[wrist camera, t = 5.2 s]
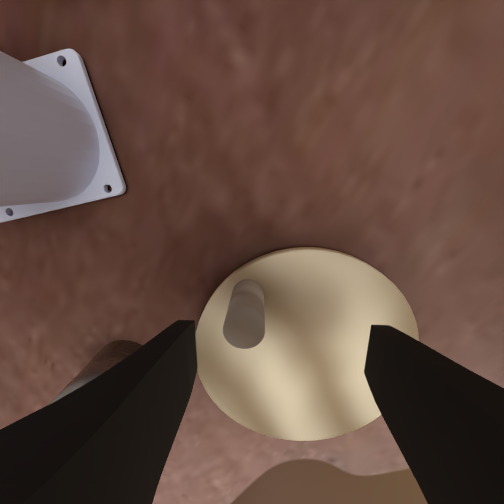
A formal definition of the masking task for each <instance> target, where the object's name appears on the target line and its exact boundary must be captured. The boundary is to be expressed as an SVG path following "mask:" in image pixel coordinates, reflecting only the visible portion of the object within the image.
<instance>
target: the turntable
mask: <svg viewBox="0 0 504 504" xmlns="http://www.w3.org/2000/svg"><path fill="white" fill-rule="evenodd" d="M371 325H390V326H392V327H394V328H396V329H398V330H400V331H402V332H403V333H405V334H407V335H409V336H411V337H412V338H414V339H416V340H418V341H419V337H418V329H417V324H416V320H415V317H414V315H413V312H412V310H411V307H410V306H409V304H408V302H407V300H406V299H405V297H404V295H403V294H402V293H401V292H400V291H399V289H398V288H397V287H396V286H395V285H394V284H393V283H392V282H391V281H390V280H389V279H388V278H386V277H385V276H384V275H383V274H382V273H380V272H379V271H378V270H376V269H375V268H373V267H372V266H370V265H369V264H367V263H366V262H364V261H362V260H360V259H358V258H356V257H354V256H352V255H349V254H346V253H343V252H339V251H336V250H331V249H325V248H317V247H298V248H288V249H283V250H278V251H274V252H271V253H268V254H265V255H262V256H259V257H257V258H255V259H253V260H251V261H249V262H247V263H246V264H244V265H243V266H241V267H239V268H238V269H236V270H235V271H234V272H233V273H231V274H230V275H229V276H228V277H227V278H226V279H225V280H224V281H223V282H222V283H221V284H220V285H219V286H218V288H217V289H216V290H215V291H214V293H213V294H212V296H211V297H210V299H209V301H208V302H207V305H206V307H205V309H204V311H203V313H202V316H201V318H200V320H199V323H198V327H197V330H196V335H195V337H196V351H197V366H198V368H197V371H198V374H199V377H200V380H201V382H202V384H203V386H204V388H205V390H206V392H207V393H208V394H209V396H210V397H211V399H212V400H213V401H214V402H215V404H216V405H217V406H218V407H219V408H220V409H221V410H222V411H223V412H224V413H226V414H227V415H228V416H229V417H230V418H232V419H233V420H235V421H236V422H238V423H239V424H241V425H243V426H245V427H247V428H249V429H251V430H253V431H255V432H258V433H261V434H263V435H267V436H271V437H274V438H280V439H286V440H297V441H308V440H320V439H327V438H332V437H336V436H340V435H343V434H346V433H349V432H352V431H354V430H356V429H358V428H361V427H363V426H365V425H366V424H368V423H370V422H371V421H373V420H375V419H376V418H377V417H379V416H380V415H381V412H380V410H379V409H378V407H377V405H376V403H375V400H374V398H373V395H372V393H371V390H370V388H369V385H368V382H367V380H366V377H365V374H364V368H365V361H366V355H367V349H368V342H369V336H370V329H371Z"/></svg>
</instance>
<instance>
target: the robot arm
mask: <svg viewBox="0 0 504 504" xmlns="http://www.w3.org/2000/svg"><path fill="white" fill-rule="evenodd" d="M65 59H66V65H65V66H64V67H63V60H65ZM108 185H110V186H111V187H112V191H111V192H109V191H108ZM125 191H126V185H125V182H124V179H123V176H122V173H121V170H120V167H119V164H118V161H117V159H116V156H115V153H114V150H113V147H112V144H111V141H110V138H109V135H108V132H107V129H106V126H105V123H104V121H103V118H102V115H101V112H100V109H99V106H98V103H97V100H96V97H95V94H94V91H93V88H92V86H91V83H90V80H89V77H88V74H87V71H86V68H85V65H84V62H83V59H82V57H81V56H80V55H79V54H78V53H77V52H76V51H74V50H73V49H70V48H69V49H64V50H60V51H57V52H54V53H50V54H47V55H44V56H40V57H37V58H34V59H31V60H27V61H24V62H21V61H19V60H17V59H15V58H13V57H11V56H9V55H7V54H5V53H3V52H1V51H0V223H1V222H7V221H11V220H15V219H20V218H24V217H28V216H32V215H37V214H41V213H45V212H49V211H54V210H58V209H62V208H67V207H71V206H75V205H79V204H84V203H88V202H92V201H96V200H101V199H105V198H109V197H113V196H118V195H122V194H124V192H125ZM11 210H12V211H13V213H12V211H11ZM197 368H198V366H197V351H196V337H195V322H194V321H189V320H178V321H176V322H175V323H173V324H172V325H170V326H169V327H168V328H166V329H165V330H163V331H162V332H161V333H159V334H158V335H157V336H155V337H154V338H153V339H151V340H150V341H149V342H147V343H146V344H145V345H143V346H142V347H141V348H139V349H138V350H136V351H135V352H134V353H132V354H131V355H129V356H128V357H126V358H125V359H123V360H122V361H120V362H119V363H117V364H116V365H114V366H113V367H111V368H110V369H108V370H107V371H105V372H104V373H103V374H101V375H99V376H98V377H96V378H95V379H93V380H91V381H90V382H88V383H86V384H85V385H83V386H81V387H80V388H78V389H76V390H74V391H73V392H71V393H69V394H67V395H66V396H64V397H62V398H60V399H59V400H57V401H55V402H53V403H51V404H50V405H48V406H46V407H44V408H42V409H40V410H38V411H36V412H34V413H32V414H30V415H28V416H26V417H24V418H22V419H20V420H18V421H16V422H14V423H12V424H10V425H8V426H7V427H5V428H3V429H1V430H0V504H152V502H153V499H154V496H155V492H156V489H157V486H158V483H159V480H160V477H161V474H162V471H163V468H164V466H165V463H166V460H167V458H168V455H169V452H170V450H171V447H172V444H173V442H174V439H175V436H176V434H177V431H178V428H179V426H180V423H181V420H182V418H183V415H184V412H185V410H186V407H187V404H188V401H189V399H190V396H191V392H192V388H193V384H194V380H195V376H196V372H197ZM364 374H365V377H366V380H367V382H368V385H369V388H370V390H371V393H372V395H373V398H374V400H375V403H376V405H377V407H378V409H379V410H380V412H381V414H382V416H383V418H384V420H385V422H386V424H387V426H388V428H389V430H390V431H391V433H392V435H393V437H394V439H395V441H396V443H397V445H398V447H399V448H400V450H401V452H402V454H403V456H404V458H405V460H406V462H407V463H408V465H409V467H410V469H411V471H412V473H413V475H414V477H415V478H416V480H417V482H418V484H419V486H420V488H421V490H422V492H423V494H424V496H425V499H426V501H427V503H428V504H504V388H502V387H500V386H498V385H496V384H494V383H492V382H491V381H489V380H487V379H485V378H483V377H481V376H479V375H477V374H476V373H474V372H472V371H470V370H468V369H466V368H465V367H463V366H461V365H459V364H458V363H456V362H454V361H452V360H450V359H449V358H447V357H445V356H443V355H442V354H440V353H438V352H437V351H435V350H433V349H431V348H430V347H428V346H426V345H424V344H423V343H421V342H419V341H418V340H416V339H414V338H412V337H411V336H409V335H407V334H405V333H403V332H402V331H400V330H398V329H396V328H394V327H392V326H390V325H371V329H370V336H369V342H368V349H367V355H366V361H365V368H364Z"/></svg>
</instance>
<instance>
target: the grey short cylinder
mask: <svg viewBox="0 0 504 504" xmlns="http://www.w3.org/2000/svg"><path fill="white" fill-rule="evenodd" d="M141 347H142V345H140V344H138V343H135V342H132V341H125V340H121V341H115V342H112V343H109V344H108V345H106V346H105V347H104V348H103V349H102V350H101V351H100V352H99V353H98V354H97V355H96V356H95V357H94V358H93V359H92V360H91V361H90V362H89V363H88V364H87V365H86V366H85V368H84V369H83V370H82V371H81V372H80V373H79V374H78V375H77V376H76V377H75V378H74V379H73V380H72V381H71V382H70V383H69V384H68V385H67V386H66V387H65V388H64V389H63V390H62V391H61V392H60V393H59V395H58V396H57V397H56V398H55V399H54V400H53V401H52V402H51V403H53V402H55V401H57V400H59V399H60V398H62V397H64V396H66V395H67V394H69V393H71V392H73V391H74V390H76V389H78V388H80V387H81V386H83V385H85V384H86V383H88V382H90V381H91V380H93V379H95V378H96V377H98V376H99V375H101V374H103V373H104V372H105V371H107V370H108V369H110V368H111V367H113V366H114V365H116V364H117V363H119V362H120V361H122V360H123V359H125V358H126V357H128V356H129V355H131V354H132V353H134V352H135V351H136V350H138V349H139V348H141ZM51 403H50V404H51ZM50 404H49V405H50Z"/></svg>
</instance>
